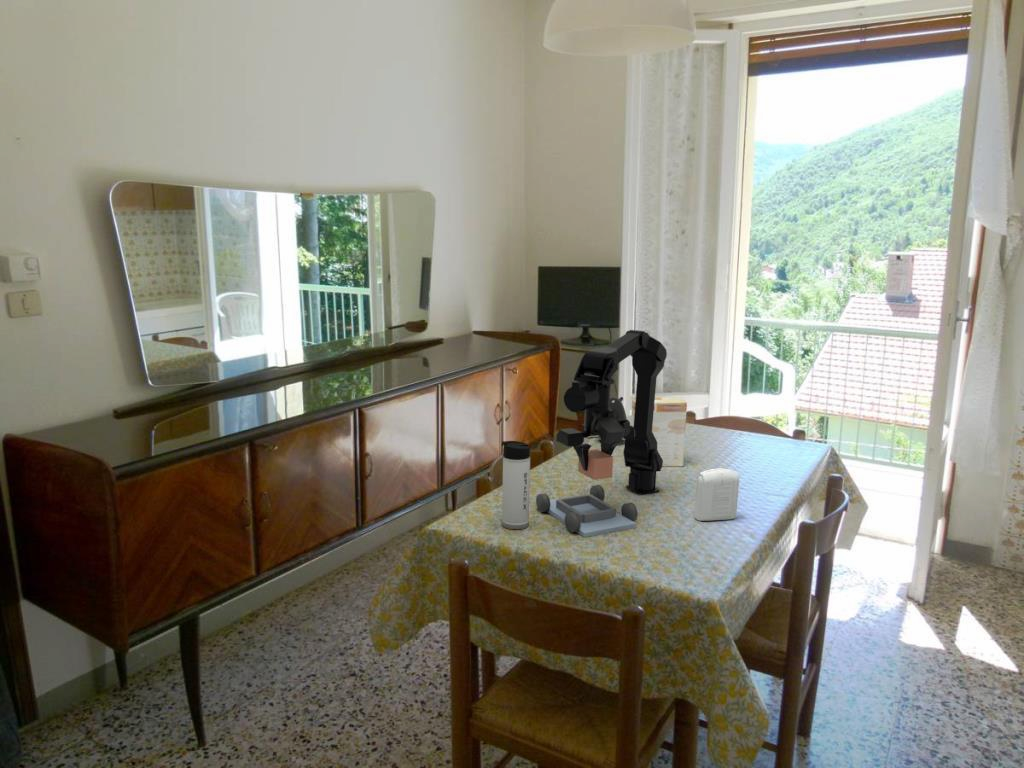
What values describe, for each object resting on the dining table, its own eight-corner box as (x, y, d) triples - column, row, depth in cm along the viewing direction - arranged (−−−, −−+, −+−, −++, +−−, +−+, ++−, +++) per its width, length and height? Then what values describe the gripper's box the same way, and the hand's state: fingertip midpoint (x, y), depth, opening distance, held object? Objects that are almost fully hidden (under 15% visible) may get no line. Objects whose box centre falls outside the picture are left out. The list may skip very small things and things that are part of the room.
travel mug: (499, 520, 179) (500, 438, 176) (527, 519, 180) (529, 438, 176) (501, 530, 173) (502, 446, 169) (530, 529, 174) (531, 445, 170)
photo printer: (730, 513, 186) (733, 465, 184) (739, 519, 182) (742, 470, 179) (691, 516, 184) (694, 467, 181) (699, 523, 180) (702, 473, 177)
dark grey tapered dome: (633, 442, 248) (635, 396, 245) (616, 448, 241) (618, 401, 238) (607, 436, 255) (609, 392, 252) (589, 442, 247) (591, 396, 244)
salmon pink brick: (595, 468, 184) (596, 448, 183) (612, 477, 178) (612, 456, 177) (578, 471, 182) (578, 451, 181) (594, 479, 176) (594, 459, 175)
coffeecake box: (678, 460, 230) (681, 397, 226) (684, 467, 223) (687, 402, 219) (628, 459, 229) (631, 396, 225) (633, 467, 222) (636, 401, 218)
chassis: (591, 496, 196) (591, 480, 195) (641, 526, 177) (642, 508, 176) (532, 506, 189) (532, 489, 188) (578, 538, 169) (579, 519, 169)
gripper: (582, 416, 165) (580, 484, 168) (651, 408, 174) (647, 473, 177) (556, 405, 175) (554, 470, 178) (622, 398, 184) (619, 460, 187)
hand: (594, 469), depth 180 cm, fingers closed on salmon pink brick, 5 cm apart
